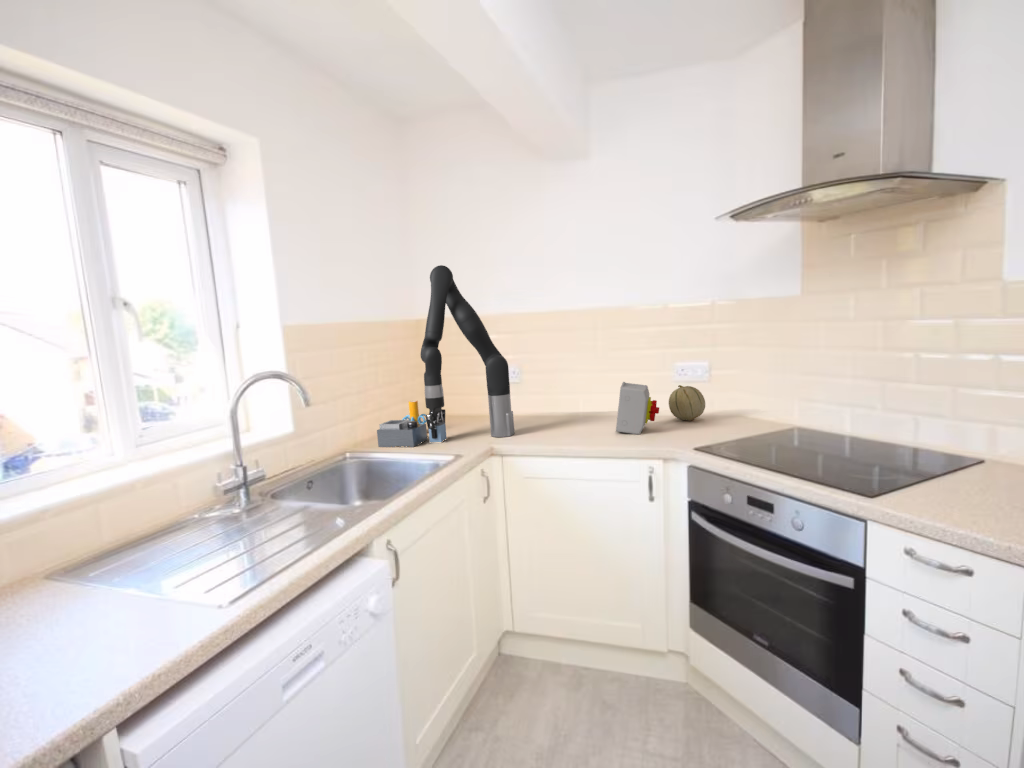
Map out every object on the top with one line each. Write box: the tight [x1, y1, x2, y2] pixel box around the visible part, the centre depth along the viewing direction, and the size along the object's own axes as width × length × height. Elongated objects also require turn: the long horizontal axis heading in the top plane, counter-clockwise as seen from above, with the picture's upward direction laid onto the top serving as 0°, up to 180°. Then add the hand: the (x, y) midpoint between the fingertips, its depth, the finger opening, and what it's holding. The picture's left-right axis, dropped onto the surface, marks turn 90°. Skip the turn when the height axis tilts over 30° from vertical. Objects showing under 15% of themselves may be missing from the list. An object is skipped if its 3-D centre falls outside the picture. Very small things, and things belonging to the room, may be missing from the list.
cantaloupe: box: [668, 385, 706, 422], centre depth 217 cm, size 15×15×15 cm
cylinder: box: [401, 400, 427, 424], centre depth 228 cm, size 12×10×15 cm
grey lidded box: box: [428, 420, 447, 443], centre depth 211 cm, size 5×5×8 cm
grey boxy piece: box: [376, 419, 428, 448], centre depth 211 cm, size 16×12×9 cm
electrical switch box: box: [615, 381, 660, 435], centre depth 203 cm, size 15×15×20 cm
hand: (437, 436), depth 211 cm, fingers closed on grey lidded box, 5 cm apart
